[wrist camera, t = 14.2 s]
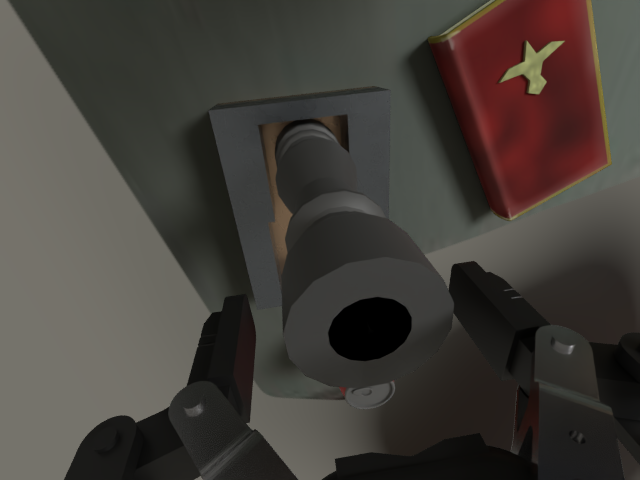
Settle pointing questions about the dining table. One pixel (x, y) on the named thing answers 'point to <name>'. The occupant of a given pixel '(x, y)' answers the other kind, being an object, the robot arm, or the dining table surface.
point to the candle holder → (350, 272)
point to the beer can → (368, 395)
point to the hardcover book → (526, 98)
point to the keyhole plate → (260, 166)
